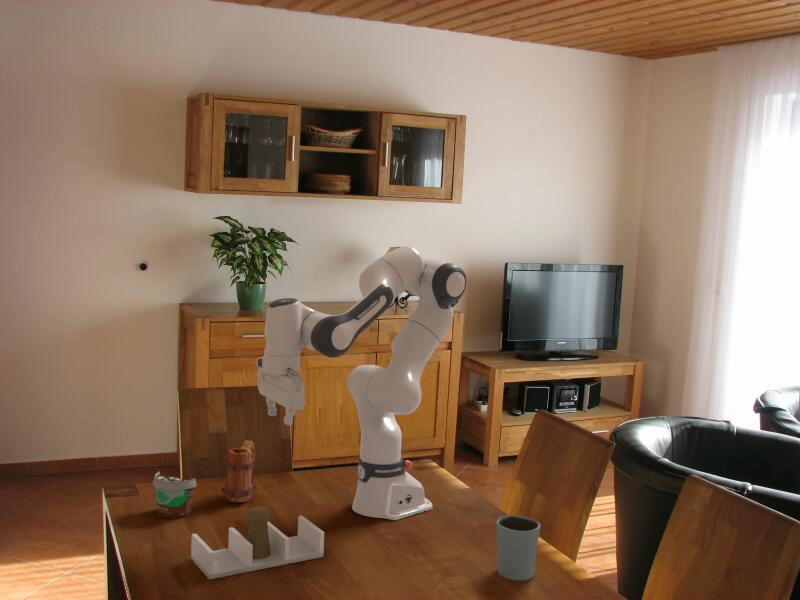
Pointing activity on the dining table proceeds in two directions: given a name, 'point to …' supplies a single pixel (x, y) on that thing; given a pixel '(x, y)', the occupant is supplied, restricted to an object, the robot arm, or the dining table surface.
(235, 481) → the mug
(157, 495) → the food container
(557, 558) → the dining table surface
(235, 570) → the slot rack
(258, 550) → the cork
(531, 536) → the grey cup
